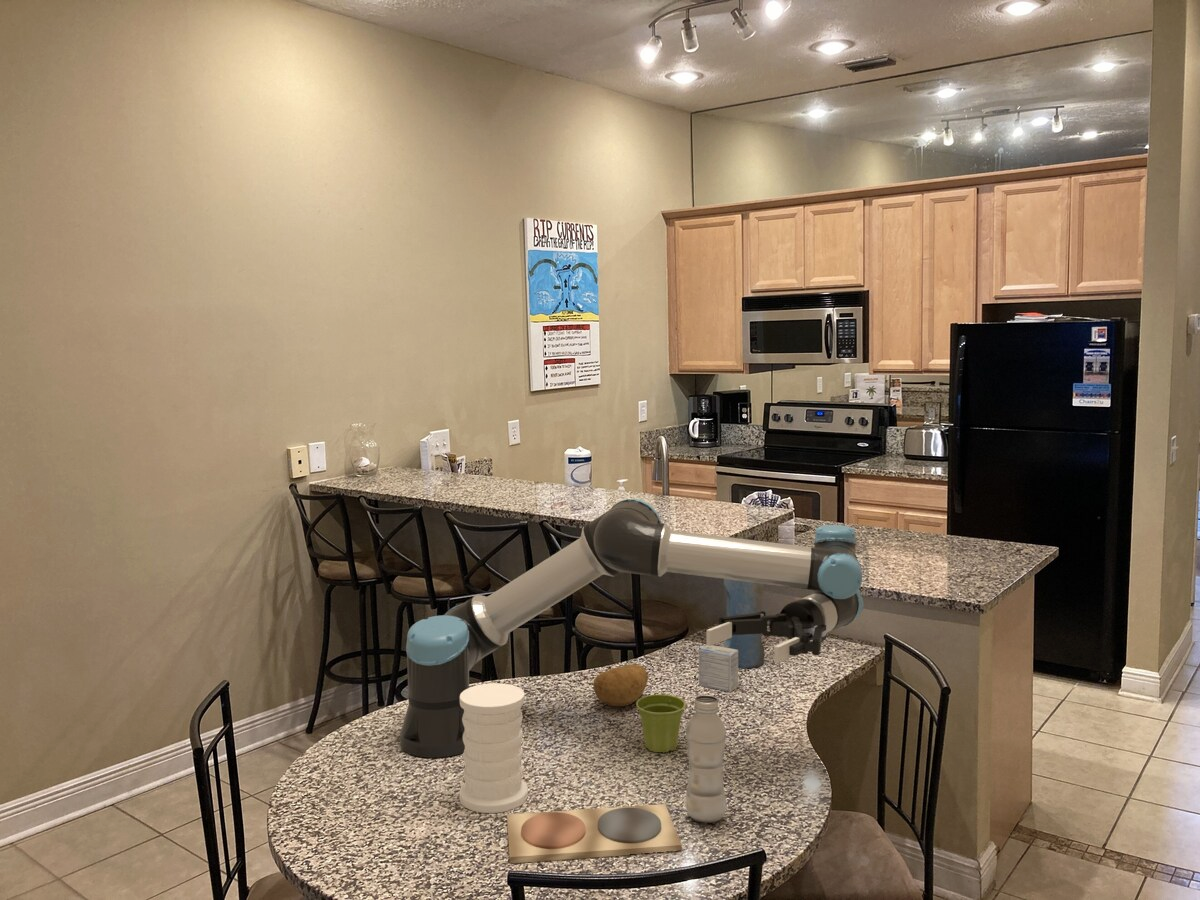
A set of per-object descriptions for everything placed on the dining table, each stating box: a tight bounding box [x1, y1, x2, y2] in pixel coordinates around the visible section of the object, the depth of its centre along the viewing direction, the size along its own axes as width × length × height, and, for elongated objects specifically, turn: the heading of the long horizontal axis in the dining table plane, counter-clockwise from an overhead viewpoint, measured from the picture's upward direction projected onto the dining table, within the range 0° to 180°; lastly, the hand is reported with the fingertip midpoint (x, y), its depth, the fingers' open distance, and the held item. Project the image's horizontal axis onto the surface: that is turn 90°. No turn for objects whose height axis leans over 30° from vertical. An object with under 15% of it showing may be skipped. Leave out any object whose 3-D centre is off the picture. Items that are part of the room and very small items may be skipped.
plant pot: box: [635, 693, 687, 754], centre depth 181 cm, size 9×9×9 cm
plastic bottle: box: [685, 694, 728, 824], centre depth 153 cm, size 6×7×20 cm
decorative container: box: [459, 682, 529, 814], centre depth 161 cm, size 12×12×18 cm
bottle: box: [723, 579, 765, 669], centre depth 228 cm, size 10×10×30 cm
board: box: [506, 803, 683, 864], centre depth 149 cm, size 26×13×2 cm, turn 97°
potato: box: [592, 663, 649, 707], centre depth 203 cm, size 10×14×8 cm
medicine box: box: [698, 644, 739, 693], centre depth 213 cm, size 8×4×9 cm, turn 58°
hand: (741, 646), depth 158 cm, fingers open, 13 cm apart
